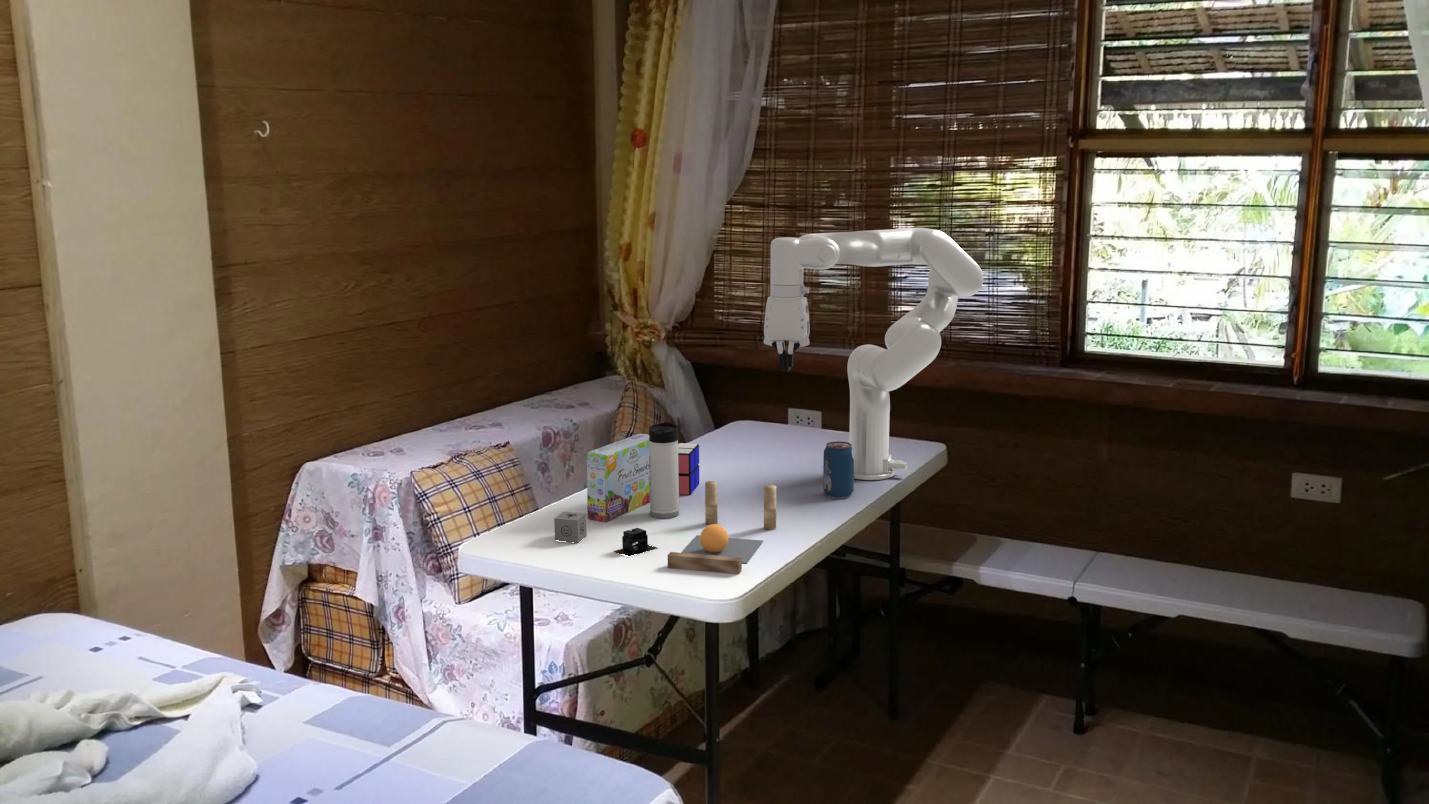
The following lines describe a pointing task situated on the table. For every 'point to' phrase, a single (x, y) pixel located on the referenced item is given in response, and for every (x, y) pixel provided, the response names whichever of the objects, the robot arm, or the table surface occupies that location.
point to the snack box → (618, 478)
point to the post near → (769, 507)
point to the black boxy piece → (633, 537)
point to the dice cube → (570, 527)
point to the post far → (711, 503)
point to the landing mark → (727, 548)
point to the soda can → (838, 470)
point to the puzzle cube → (688, 468)
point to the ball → (714, 538)
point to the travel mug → (663, 470)
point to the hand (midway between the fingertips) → (786, 369)
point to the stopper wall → (704, 562)
